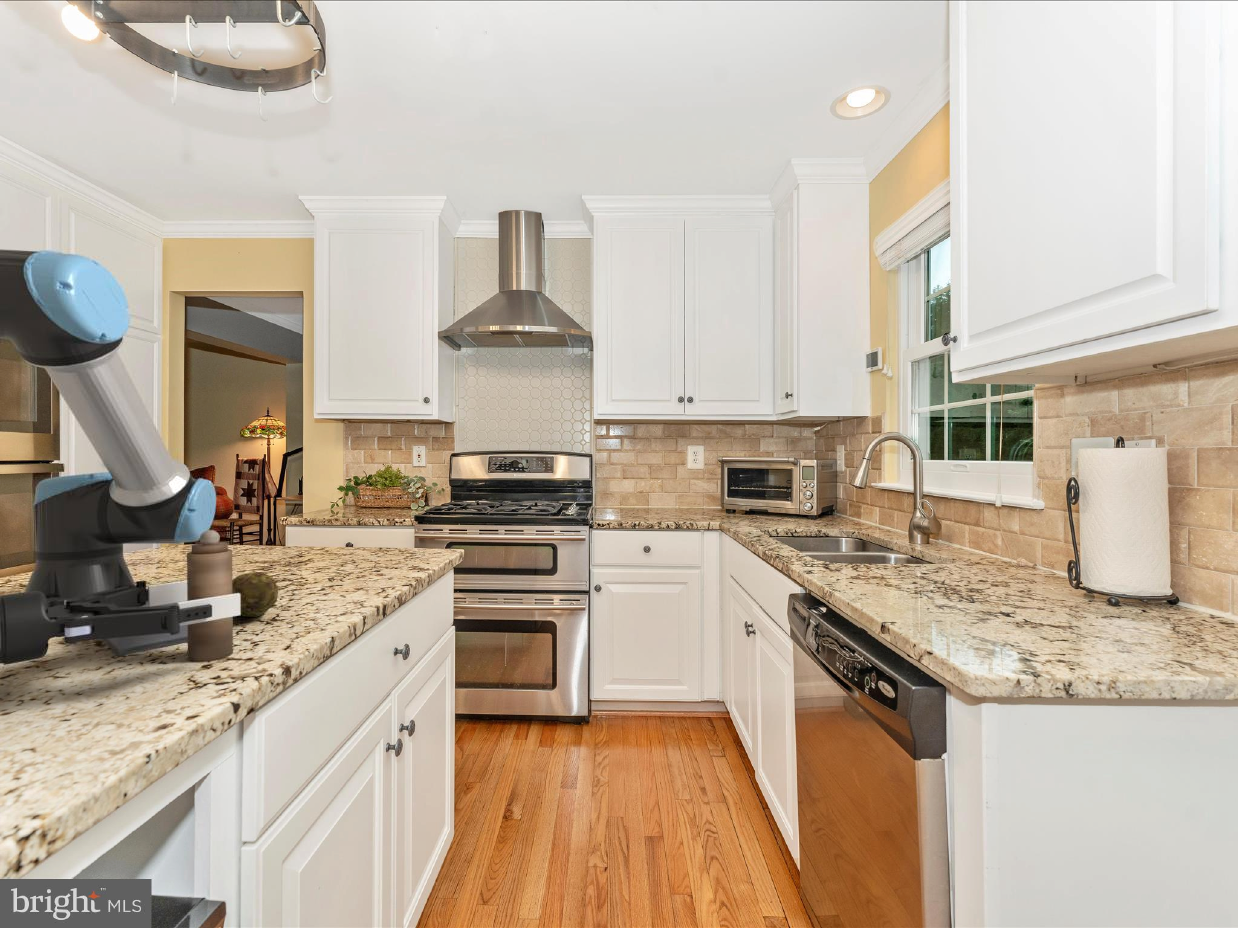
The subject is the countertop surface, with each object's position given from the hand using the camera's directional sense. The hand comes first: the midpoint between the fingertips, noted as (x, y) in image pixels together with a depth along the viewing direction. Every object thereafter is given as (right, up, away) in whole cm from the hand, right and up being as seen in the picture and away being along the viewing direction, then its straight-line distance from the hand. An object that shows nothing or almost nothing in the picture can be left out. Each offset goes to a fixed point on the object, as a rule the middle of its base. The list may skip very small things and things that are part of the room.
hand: (222, 595), depth 81 cm
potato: (-7, -8, +17) cm, 20 cm away
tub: (-14, -8, +7) cm, 18 cm away
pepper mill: (-1, -8, -1) cm, 8 cm away
